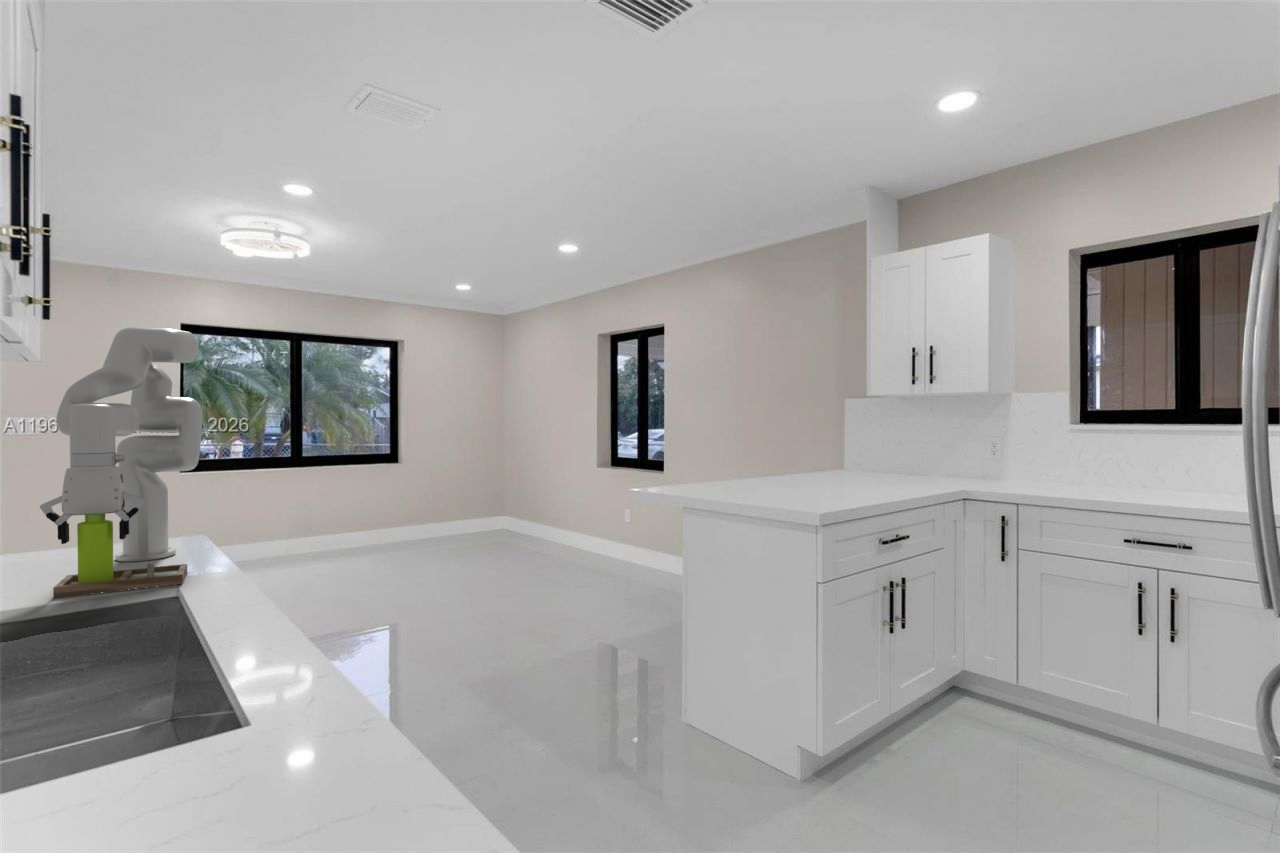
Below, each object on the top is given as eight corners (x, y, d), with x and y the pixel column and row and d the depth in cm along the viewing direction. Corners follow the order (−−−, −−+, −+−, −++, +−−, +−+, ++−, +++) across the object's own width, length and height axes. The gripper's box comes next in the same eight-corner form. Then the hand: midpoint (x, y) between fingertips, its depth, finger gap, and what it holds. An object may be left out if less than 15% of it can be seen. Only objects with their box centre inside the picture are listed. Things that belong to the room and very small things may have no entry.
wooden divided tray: (67, 585, 142) (67, 561, 142) (187, 573, 153) (187, 551, 153) (53, 598, 132) (52, 573, 132) (182, 584, 143) (182, 561, 143)
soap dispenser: (102, 586, 138) (101, 492, 137) (70, 586, 138) (69, 492, 137) (125, 579, 144) (124, 489, 143) (94, 578, 144) (93, 488, 143)
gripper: (146, 458, 147) (147, 534, 148) (44, 461, 138) (46, 541, 139) (140, 461, 141) (142, 539, 141) (34, 464, 132) (35, 548, 132)
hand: (94, 540), depth 140 cm, fingers open, 9 cm apart
